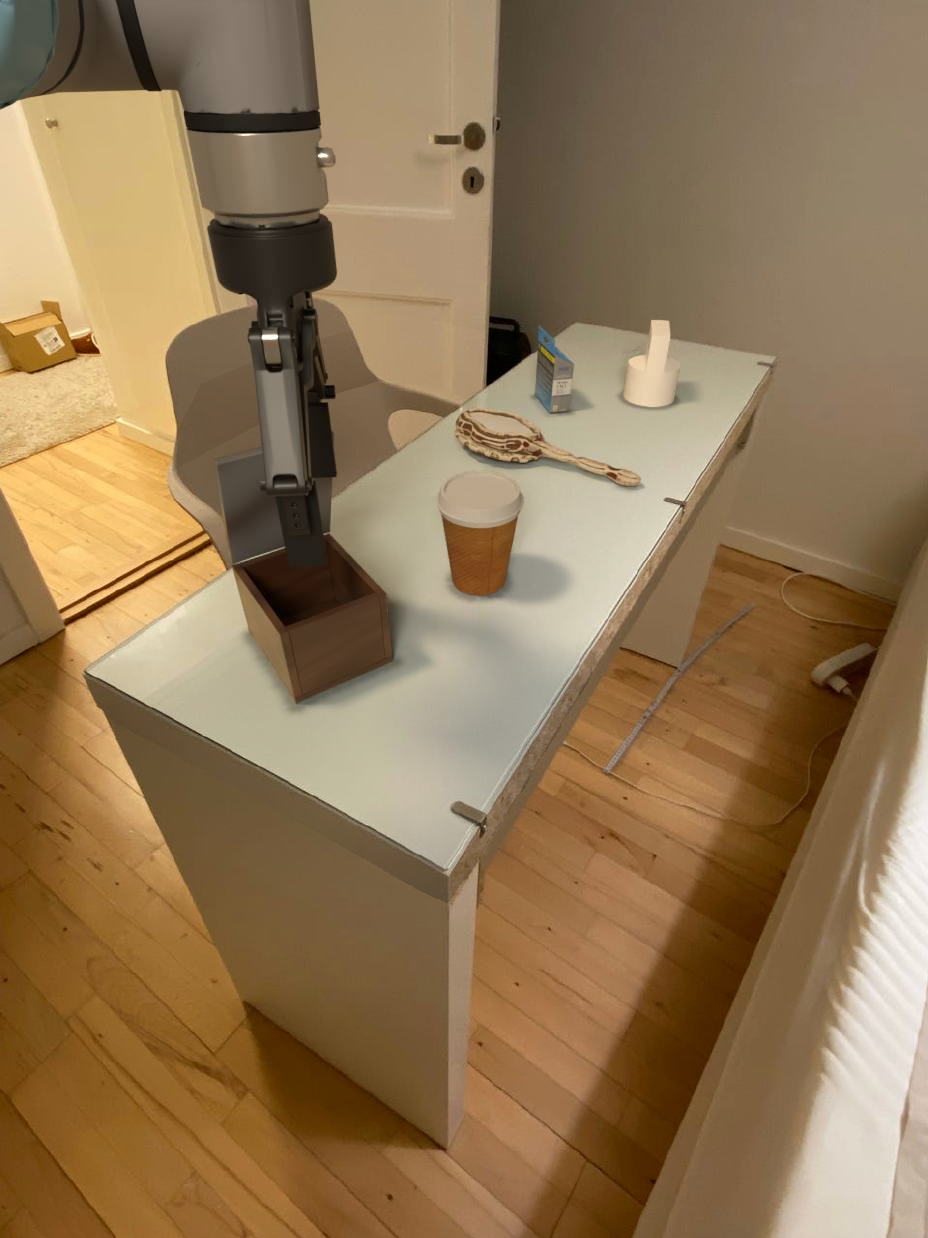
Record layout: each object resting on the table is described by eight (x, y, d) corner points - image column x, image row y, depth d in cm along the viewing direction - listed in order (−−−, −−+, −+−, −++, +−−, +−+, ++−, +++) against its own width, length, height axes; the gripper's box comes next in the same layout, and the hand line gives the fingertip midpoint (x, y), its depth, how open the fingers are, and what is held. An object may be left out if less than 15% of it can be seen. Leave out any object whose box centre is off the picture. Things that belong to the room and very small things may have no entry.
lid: (334, 434, 60) (330, 428, 61) (216, 464, 56) (213, 458, 56) (330, 532, 72) (326, 526, 72) (231, 564, 67) (228, 558, 67)
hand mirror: (628, 490, 92) (439, 423, 101) (621, 521, 96) (441, 455, 106) (657, 445, 97) (474, 386, 107) (649, 476, 102) (475, 417, 111)
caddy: (393, 661, 70) (386, 593, 64) (295, 704, 65) (279, 634, 59) (339, 598, 78) (329, 533, 72) (249, 632, 73) (231, 565, 67)
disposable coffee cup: (445, 554, 84) (443, 465, 77) (522, 559, 83) (527, 471, 76) (431, 600, 77) (428, 508, 70) (515, 608, 76) (521, 515, 69)
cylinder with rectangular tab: (623, 385, 127) (633, 318, 119) (673, 389, 126) (686, 321, 118) (622, 404, 120) (633, 334, 113) (674, 408, 119) (689, 337, 111)
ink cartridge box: (570, 412, 118) (577, 338, 110) (549, 414, 117) (555, 340, 109) (553, 392, 124) (559, 322, 117) (533, 394, 124) (537, 323, 116)
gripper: (315, 260, 32) (357, 609, 46) (340, 183, 51) (365, 446, 65) (152, 263, 32) (243, 615, 45) (239, 184, 51) (285, 448, 64)
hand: (315, 516), depth 55 cm, fingers open, 13 cm apart
